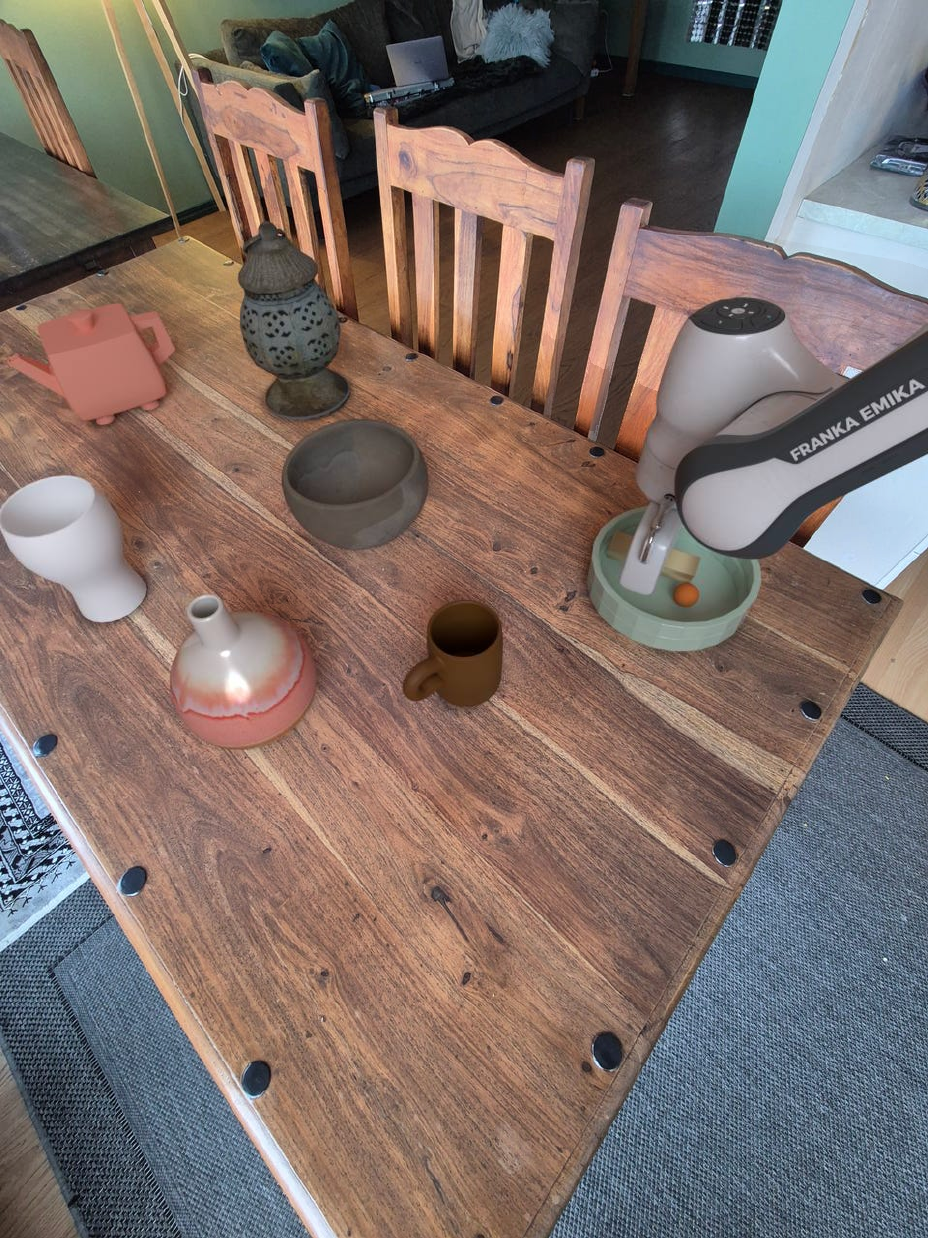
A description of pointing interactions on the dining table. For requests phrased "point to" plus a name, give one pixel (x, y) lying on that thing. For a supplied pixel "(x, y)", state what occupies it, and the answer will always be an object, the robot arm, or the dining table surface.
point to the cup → (73, 544)
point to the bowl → (355, 483)
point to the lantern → (290, 327)
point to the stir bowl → (658, 616)
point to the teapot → (101, 361)
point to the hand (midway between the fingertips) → (651, 560)
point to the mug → (459, 656)
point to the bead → (686, 595)
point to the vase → (240, 676)
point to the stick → (676, 567)
